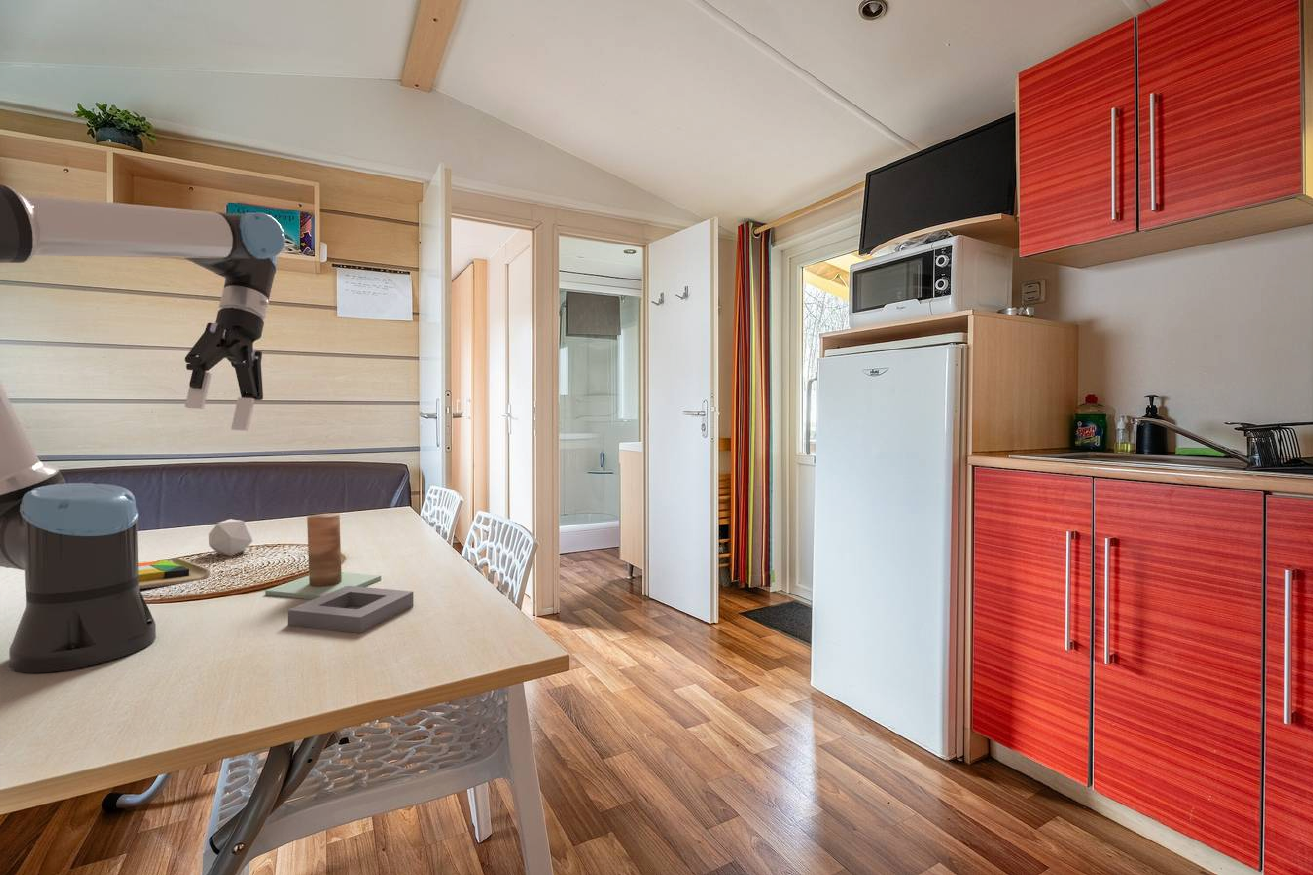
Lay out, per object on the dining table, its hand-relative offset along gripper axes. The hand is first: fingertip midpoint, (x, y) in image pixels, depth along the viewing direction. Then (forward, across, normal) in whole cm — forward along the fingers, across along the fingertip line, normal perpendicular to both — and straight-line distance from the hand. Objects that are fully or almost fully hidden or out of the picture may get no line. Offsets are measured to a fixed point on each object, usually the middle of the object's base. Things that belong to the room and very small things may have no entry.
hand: (218, 419), depth 111 cm
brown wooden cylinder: (+28, +13, -18) cm, 36 cm away
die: (+22, +39, +15) cm, 47 cm away
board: (+29, +13, -18) cm, 37 cm away
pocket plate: (+34, -2, -30) cm, 46 cm away
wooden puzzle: (+29, +18, +20) cm, 40 cm away
